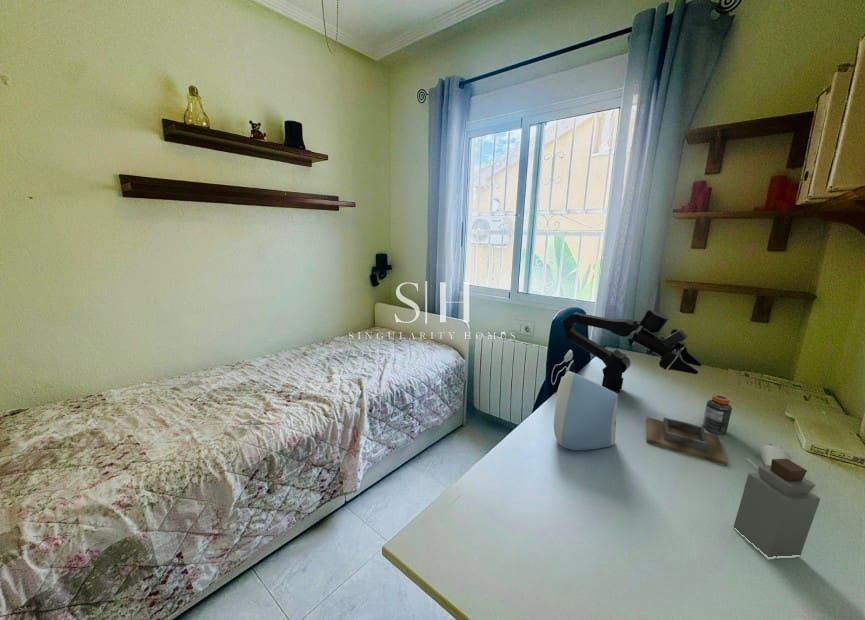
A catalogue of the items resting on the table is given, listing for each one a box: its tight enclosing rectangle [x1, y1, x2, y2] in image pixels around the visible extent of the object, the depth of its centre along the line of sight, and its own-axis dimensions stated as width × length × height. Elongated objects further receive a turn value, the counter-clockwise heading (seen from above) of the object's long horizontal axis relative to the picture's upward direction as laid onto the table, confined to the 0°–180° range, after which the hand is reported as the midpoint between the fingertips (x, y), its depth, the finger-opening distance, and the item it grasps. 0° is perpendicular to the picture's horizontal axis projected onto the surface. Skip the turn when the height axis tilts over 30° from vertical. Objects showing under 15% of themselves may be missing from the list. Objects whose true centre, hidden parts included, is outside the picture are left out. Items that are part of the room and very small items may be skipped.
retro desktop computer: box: [550, 349, 619, 451], centre depth 96 cm, size 25×23×17 cm
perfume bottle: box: [733, 459, 821, 557], centre depth 63 cm, size 7×7×18 cm
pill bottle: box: [701, 394, 733, 435], centre depth 102 cm, size 6×6×11 cm
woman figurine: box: [744, 444, 809, 480], centre depth 85 cm, size 12×4×18 cm
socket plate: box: [645, 416, 728, 467], centre depth 97 cm, size 18×14×4 cm
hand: (699, 369), depth 110 cm, fingers open, 9 cm apart
